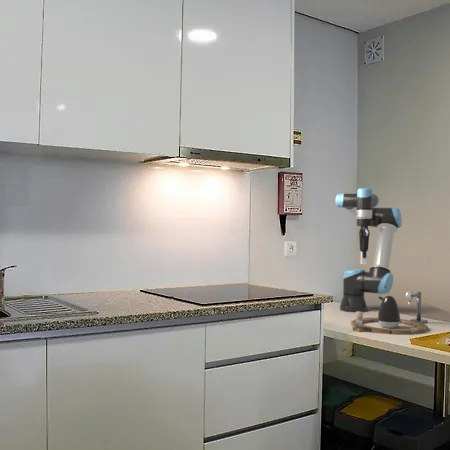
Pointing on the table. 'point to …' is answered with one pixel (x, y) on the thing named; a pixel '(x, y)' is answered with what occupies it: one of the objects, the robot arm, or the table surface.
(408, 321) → the turntable ring
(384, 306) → the pump dispenser
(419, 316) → the dial indicator stand
